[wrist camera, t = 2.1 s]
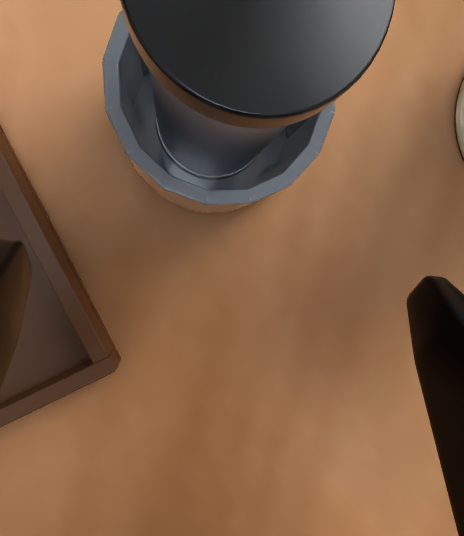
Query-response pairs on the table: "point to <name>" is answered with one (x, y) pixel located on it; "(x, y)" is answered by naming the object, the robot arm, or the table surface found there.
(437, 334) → the robot arm
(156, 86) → the metal tumbler
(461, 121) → the coffee can
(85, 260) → the table surface
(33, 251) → the tray
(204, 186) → the cup
